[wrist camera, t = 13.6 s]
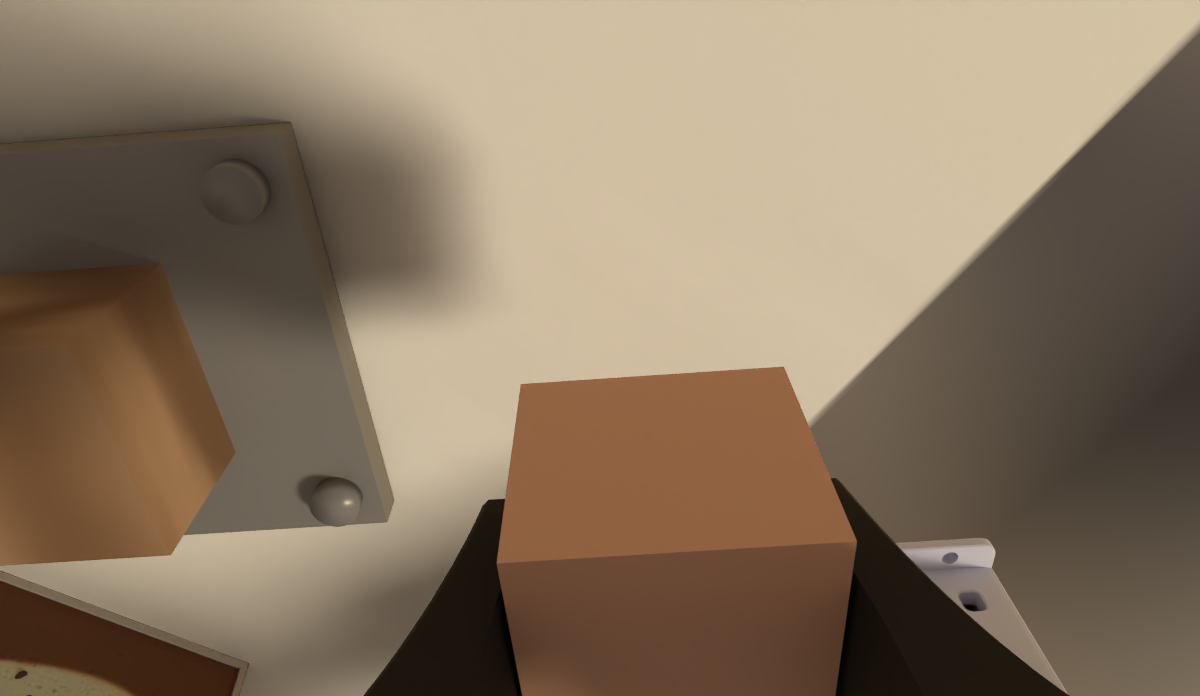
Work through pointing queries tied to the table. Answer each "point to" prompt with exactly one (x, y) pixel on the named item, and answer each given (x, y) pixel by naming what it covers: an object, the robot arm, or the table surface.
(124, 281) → the walnut brick
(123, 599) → the table surface
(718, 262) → the table surface
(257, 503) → the base plate
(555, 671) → the terracotta block
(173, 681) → the food container
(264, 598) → the table surface
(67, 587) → the table surface
